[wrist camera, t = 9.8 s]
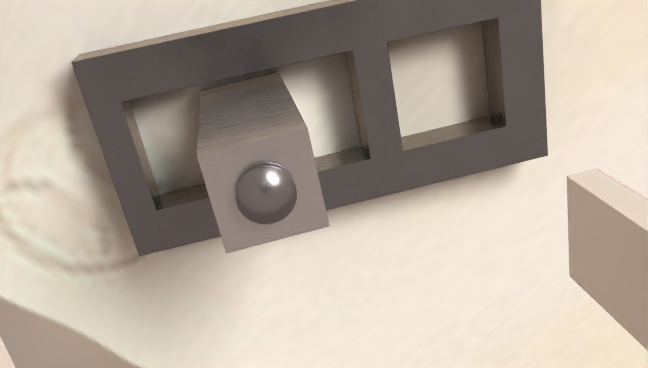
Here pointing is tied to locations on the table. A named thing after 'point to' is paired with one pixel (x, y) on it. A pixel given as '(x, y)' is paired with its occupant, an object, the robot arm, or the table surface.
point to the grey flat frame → (368, 92)
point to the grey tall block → (258, 163)
